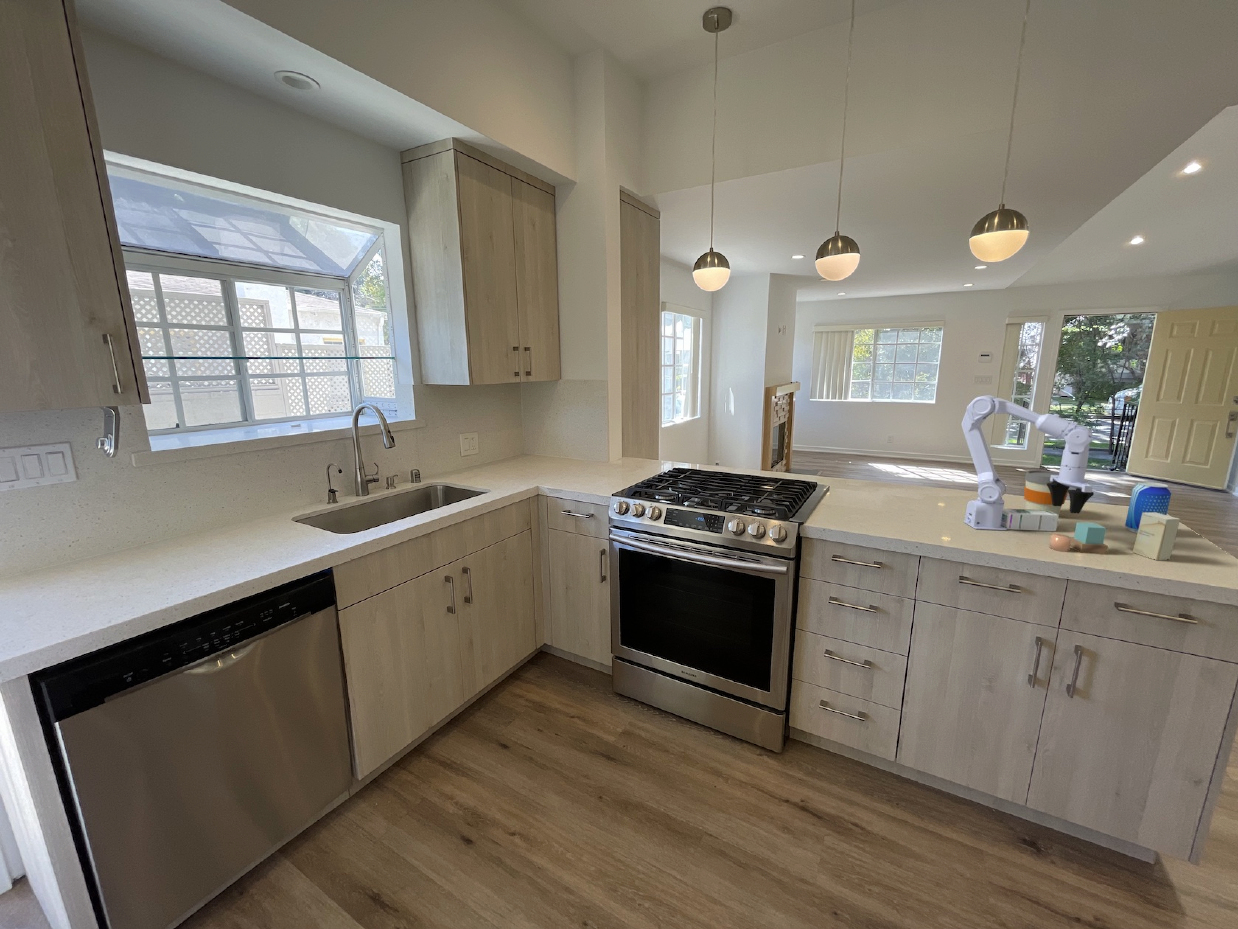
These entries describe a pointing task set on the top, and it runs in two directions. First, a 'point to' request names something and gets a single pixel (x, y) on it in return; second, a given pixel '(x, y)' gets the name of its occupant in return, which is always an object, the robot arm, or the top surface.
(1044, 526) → the syrup box
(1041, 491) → the reusable coffee cup
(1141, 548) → the skincare box
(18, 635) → the top surface
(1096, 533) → the teal block
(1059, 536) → the peach round piece
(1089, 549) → the walnut block
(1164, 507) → the beer can
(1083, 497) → the robot arm
